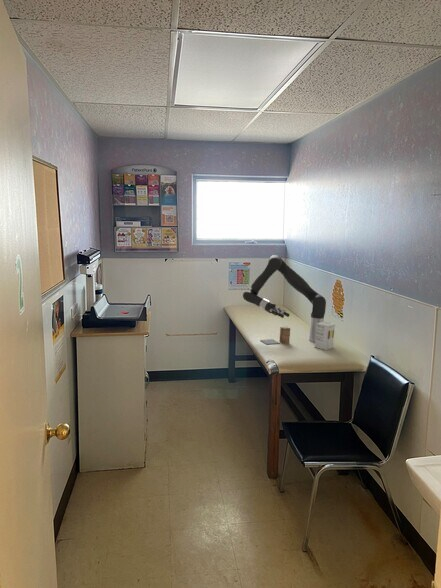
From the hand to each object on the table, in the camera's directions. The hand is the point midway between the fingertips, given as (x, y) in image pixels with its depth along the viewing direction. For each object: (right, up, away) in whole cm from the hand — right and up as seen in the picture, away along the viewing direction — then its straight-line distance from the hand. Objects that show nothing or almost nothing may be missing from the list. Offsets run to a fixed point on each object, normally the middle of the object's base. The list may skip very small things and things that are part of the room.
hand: (286, 316), depth 302 cm
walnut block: (-1, -19, +4) cm, 19 cm away
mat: (-11, -18, +4) cm, 22 cm away
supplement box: (+25, -21, -3) cm, 33 cm away
